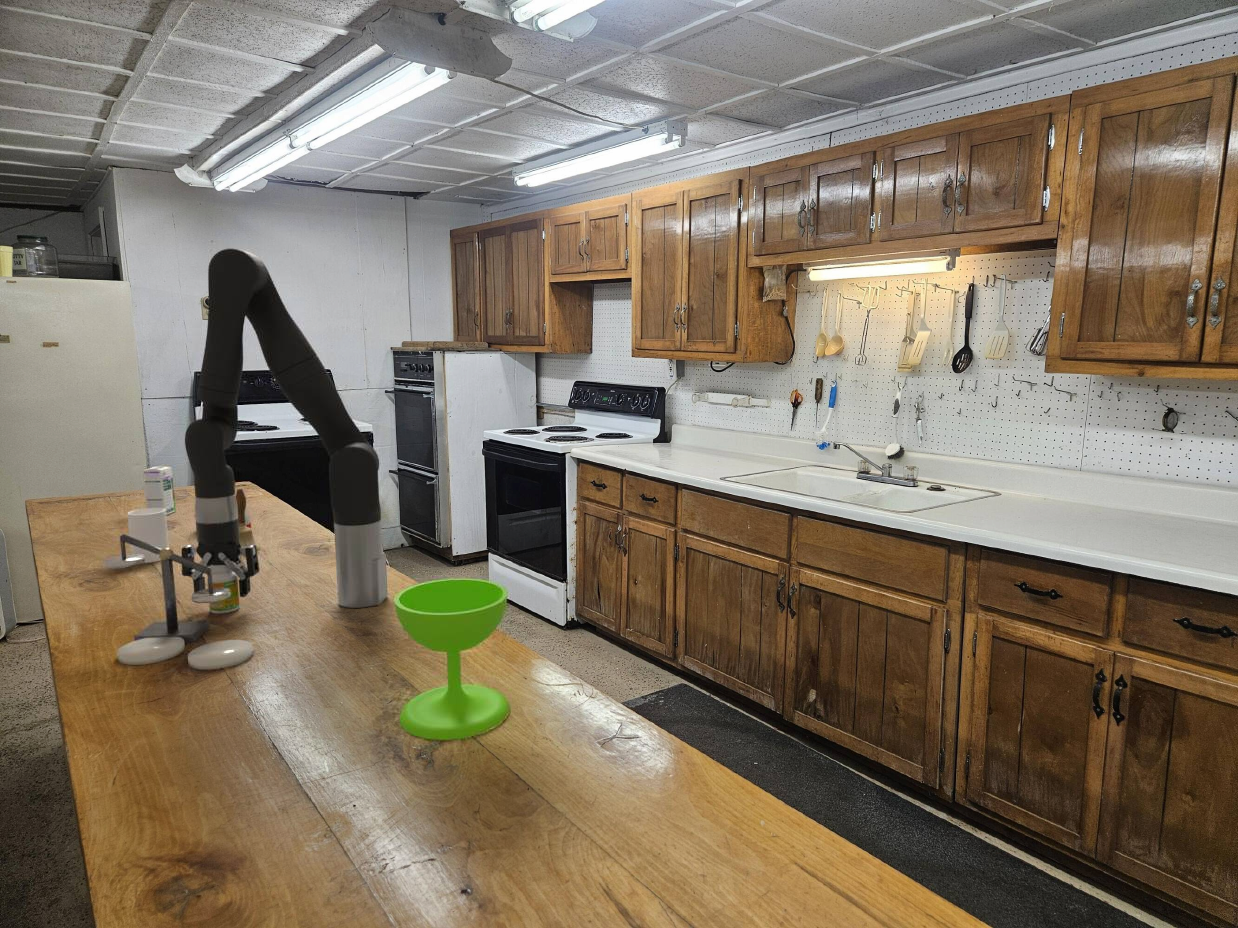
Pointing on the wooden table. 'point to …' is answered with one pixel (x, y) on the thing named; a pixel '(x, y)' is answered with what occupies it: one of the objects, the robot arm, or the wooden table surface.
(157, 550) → the balance
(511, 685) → the wooden table surface
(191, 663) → the dish low side
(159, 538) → the mug
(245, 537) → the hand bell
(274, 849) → the wooden table surface
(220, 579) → the supplement bottle
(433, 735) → the wineglass
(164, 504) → the syrup box
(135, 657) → the dish high side
